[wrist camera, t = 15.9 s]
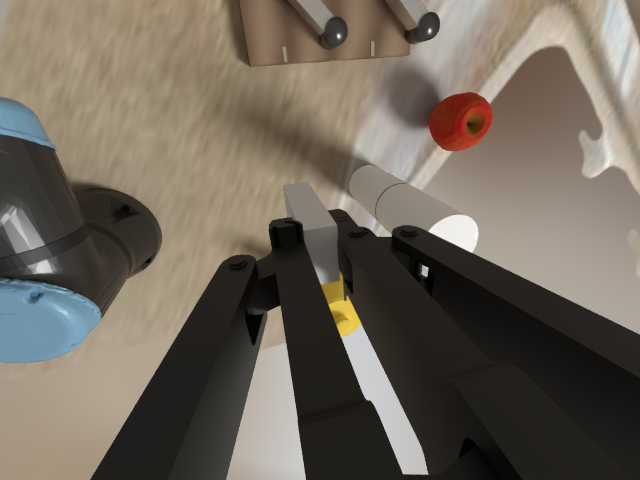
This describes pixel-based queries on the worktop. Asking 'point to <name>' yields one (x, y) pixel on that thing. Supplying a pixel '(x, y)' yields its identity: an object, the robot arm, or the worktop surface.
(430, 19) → the knob
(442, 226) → the cylindrical container
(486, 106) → the apple
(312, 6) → the knob
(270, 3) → the levelling board
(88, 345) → the worktop surface
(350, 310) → the teapot
